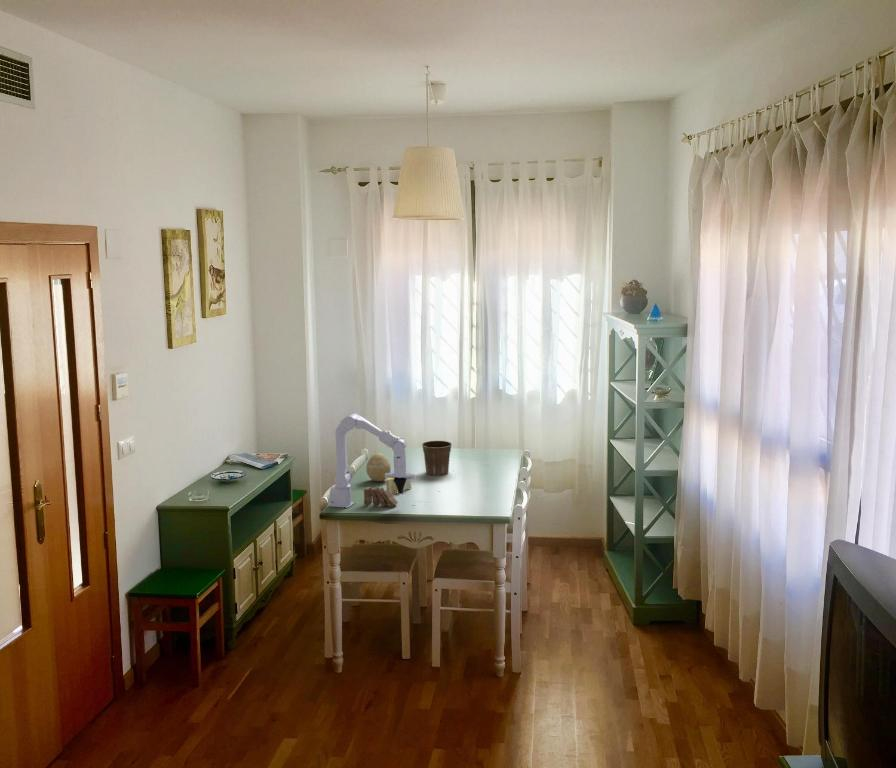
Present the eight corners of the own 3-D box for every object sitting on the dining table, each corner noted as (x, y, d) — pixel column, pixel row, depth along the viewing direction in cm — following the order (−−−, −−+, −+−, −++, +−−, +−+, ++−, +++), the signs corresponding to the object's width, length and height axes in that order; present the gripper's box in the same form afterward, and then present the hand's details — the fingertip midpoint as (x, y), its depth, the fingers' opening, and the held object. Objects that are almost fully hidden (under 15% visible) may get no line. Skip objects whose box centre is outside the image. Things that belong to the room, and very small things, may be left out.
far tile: (391, 507, 403) (380, 494, 403) (394, 504, 408) (384, 491, 408) (394, 505, 402) (384, 491, 403) (397, 502, 407) (387, 488, 407)
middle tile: (382, 507, 404) (375, 491, 404) (386, 504, 409) (379, 488, 409) (385, 505, 403) (379, 490, 403) (389, 502, 408) (382, 487, 408)
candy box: (408, 488, 436) (407, 472, 435) (411, 488, 435) (411, 473, 434) (386, 495, 424) (385, 479, 423) (389, 496, 423) (389, 479, 421)
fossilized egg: (381, 485, 442) (380, 457, 439) (361, 482, 448) (360, 454, 446) (395, 479, 452) (395, 452, 450) (376, 476, 459) (375, 449, 457)
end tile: (364, 505, 407) (363, 489, 405) (368, 502, 411) (367, 486, 410) (368, 506, 406) (367, 489, 405) (372, 503, 411) (371, 486, 410)
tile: (373, 506, 405) (371, 490, 404) (377, 503, 410) (375, 487, 409) (377, 506, 405) (375, 489, 404) (381, 503, 409) (379, 487, 408)
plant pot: (451, 476, 457) (451, 447, 455) (421, 477, 458) (420, 447, 455) (452, 469, 473) (452, 440, 471) (423, 469, 474) (422, 440, 471)
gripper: (417, 463, 403) (418, 491, 405) (388, 462, 407) (388, 490, 409) (412, 467, 396) (413, 495, 398) (383, 465, 400) (383, 494, 402)
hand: (400, 493), depth 403 cm, fingers closed
